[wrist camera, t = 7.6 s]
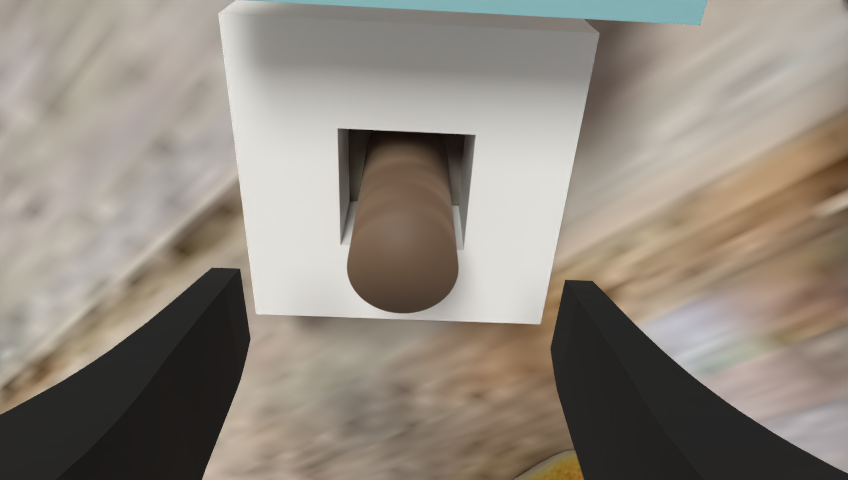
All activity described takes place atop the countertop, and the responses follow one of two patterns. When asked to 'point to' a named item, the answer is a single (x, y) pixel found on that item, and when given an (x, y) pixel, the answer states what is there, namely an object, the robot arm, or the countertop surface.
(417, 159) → the peg
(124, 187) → the countertop surface
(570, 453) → the bread roll
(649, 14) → the awning
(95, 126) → the countertop surface
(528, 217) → the socket block
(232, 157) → the countertop surface
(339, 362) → the countertop surface
